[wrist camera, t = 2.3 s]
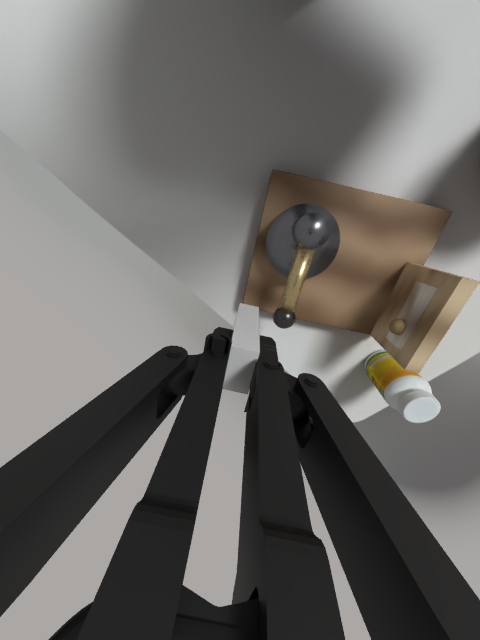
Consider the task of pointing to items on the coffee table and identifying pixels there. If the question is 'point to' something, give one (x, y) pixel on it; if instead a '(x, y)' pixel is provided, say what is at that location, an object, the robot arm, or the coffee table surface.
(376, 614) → the robot arm
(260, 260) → the stand
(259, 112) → the coffee table surface
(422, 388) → the supplement bottle
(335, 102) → the coffee table surface
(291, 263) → the ball knob lever
